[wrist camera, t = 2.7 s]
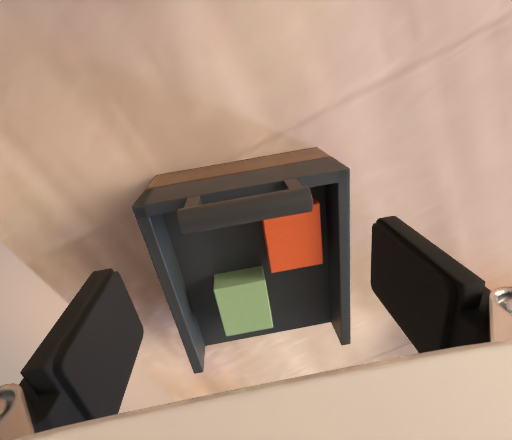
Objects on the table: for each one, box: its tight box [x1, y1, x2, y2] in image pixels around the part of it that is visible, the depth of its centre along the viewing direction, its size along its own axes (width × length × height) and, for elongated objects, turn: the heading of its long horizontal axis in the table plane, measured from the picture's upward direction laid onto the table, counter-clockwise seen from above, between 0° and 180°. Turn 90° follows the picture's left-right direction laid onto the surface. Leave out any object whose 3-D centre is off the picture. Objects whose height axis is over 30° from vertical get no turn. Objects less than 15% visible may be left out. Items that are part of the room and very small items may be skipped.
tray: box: [132, 157, 350, 373], centre depth 21 cm, size 16×14×7 cm
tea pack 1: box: [213, 266, 273, 336], centre depth 23 cm, size 5×4×2 cm
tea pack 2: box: [262, 194, 323, 273], centre depth 21 cm, size 5×4×2 cm
